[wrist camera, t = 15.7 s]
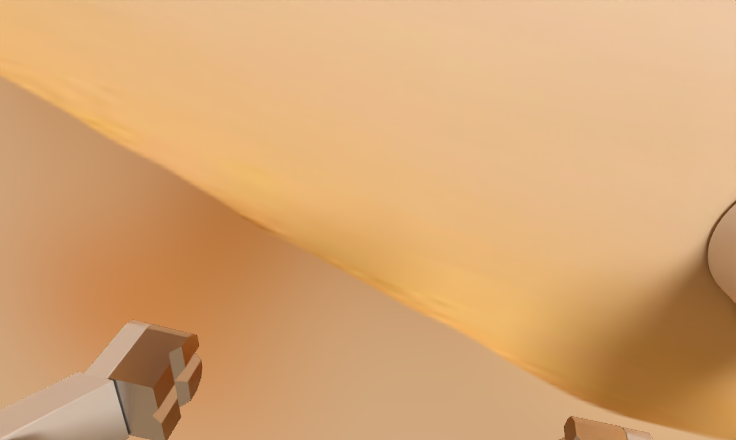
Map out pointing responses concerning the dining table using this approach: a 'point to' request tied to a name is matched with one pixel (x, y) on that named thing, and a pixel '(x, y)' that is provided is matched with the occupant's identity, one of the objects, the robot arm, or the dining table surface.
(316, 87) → the dining table surface
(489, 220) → the dining table surface
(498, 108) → the dining table surface
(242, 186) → the dining table surface
